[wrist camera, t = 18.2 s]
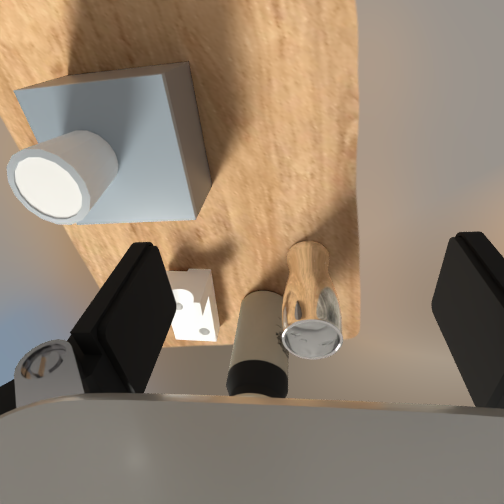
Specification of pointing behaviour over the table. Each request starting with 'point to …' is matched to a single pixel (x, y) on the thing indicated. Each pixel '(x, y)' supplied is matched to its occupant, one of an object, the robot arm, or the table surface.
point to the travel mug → (259, 349)
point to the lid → (121, 143)
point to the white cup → (63, 175)
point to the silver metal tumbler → (310, 304)
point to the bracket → (194, 305)
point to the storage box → (183, 113)
